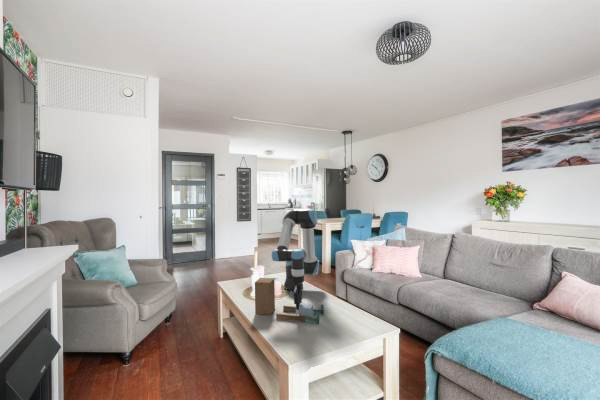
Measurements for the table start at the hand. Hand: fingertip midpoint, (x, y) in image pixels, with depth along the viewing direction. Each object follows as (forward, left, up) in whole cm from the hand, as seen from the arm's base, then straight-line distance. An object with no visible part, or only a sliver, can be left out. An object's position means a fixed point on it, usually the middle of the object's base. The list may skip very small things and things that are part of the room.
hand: (298, 313), depth 172 cm
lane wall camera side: (+6, +1, -2) cm, 6 cm away
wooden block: (-2, -23, -2) cm, 23 cm away
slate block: (0, +5, -2) cm, 5 cm away
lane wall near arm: (-6, +1, -2) cm, 7 cm away
